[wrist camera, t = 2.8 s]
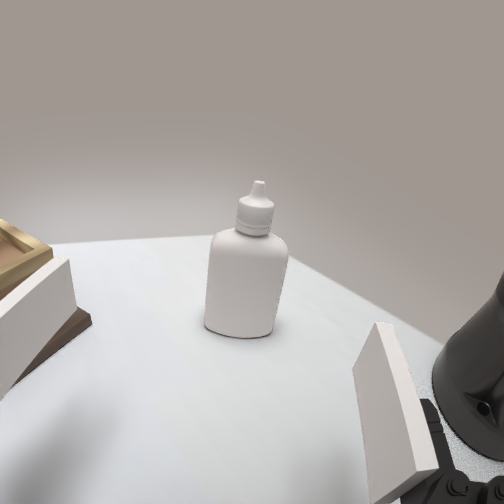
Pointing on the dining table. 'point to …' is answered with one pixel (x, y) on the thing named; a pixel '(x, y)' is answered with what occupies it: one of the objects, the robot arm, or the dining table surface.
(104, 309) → the dining table surface
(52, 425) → the dining table surface
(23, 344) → the robot arm
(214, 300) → the eye dropper bottle
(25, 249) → the display pedestal
